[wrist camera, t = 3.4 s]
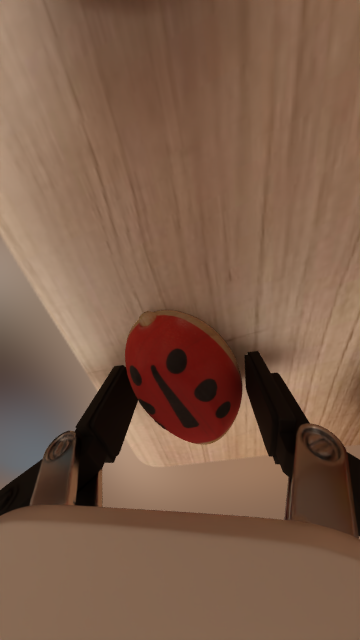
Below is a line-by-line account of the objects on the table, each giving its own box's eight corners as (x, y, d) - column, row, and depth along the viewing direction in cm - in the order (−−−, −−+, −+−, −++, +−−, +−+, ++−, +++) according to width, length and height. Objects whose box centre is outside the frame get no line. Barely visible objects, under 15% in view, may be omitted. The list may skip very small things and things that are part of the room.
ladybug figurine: (178, 415, 14) (174, 467, 11) (104, 328, 10) (64, 367, 7) (255, 395, 12) (277, 451, 9) (196, 279, 8) (197, 304, 5)
